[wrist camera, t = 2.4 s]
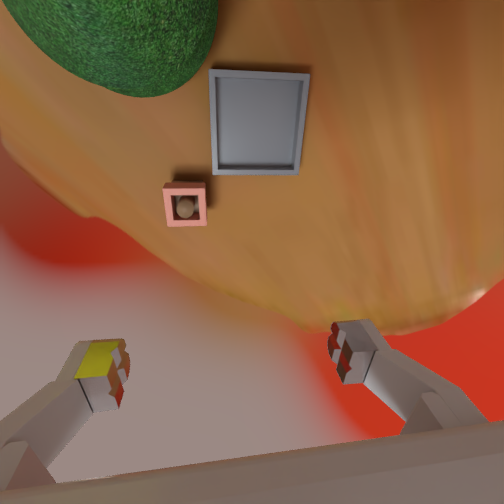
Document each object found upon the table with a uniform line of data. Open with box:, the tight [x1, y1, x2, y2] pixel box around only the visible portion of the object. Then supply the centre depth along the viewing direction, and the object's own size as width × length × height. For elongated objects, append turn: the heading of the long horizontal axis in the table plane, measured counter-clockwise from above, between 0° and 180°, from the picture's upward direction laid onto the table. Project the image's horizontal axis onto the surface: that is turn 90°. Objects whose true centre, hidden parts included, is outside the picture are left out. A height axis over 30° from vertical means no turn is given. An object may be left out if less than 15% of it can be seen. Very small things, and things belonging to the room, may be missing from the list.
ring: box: [163, 183, 207, 227], centre depth 42 cm, size 6×6×3 cm
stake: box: [171, 181, 203, 218], centre depth 43 cm, size 5×5×7 cm
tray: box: [209, 69, 310, 175], centre depth 41 cm, size 14×14×3 cm
